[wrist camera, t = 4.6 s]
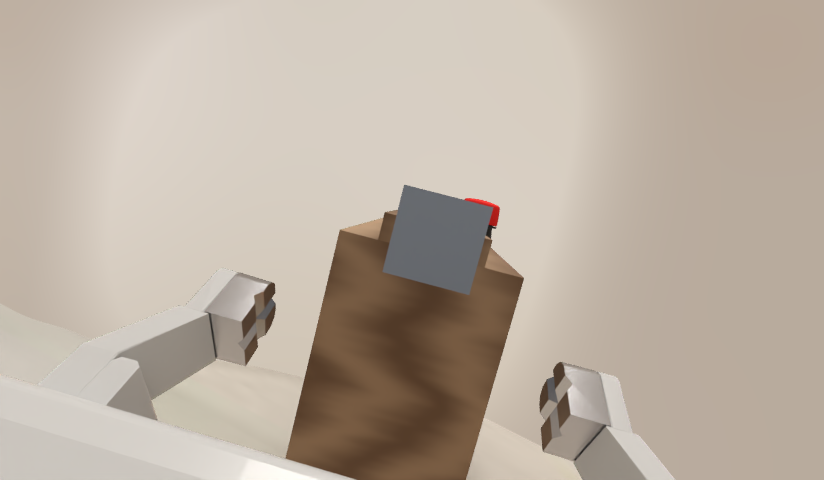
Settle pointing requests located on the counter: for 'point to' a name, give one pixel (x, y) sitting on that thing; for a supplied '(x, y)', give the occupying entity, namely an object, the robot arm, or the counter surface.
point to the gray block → (437, 239)
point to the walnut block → (400, 365)
